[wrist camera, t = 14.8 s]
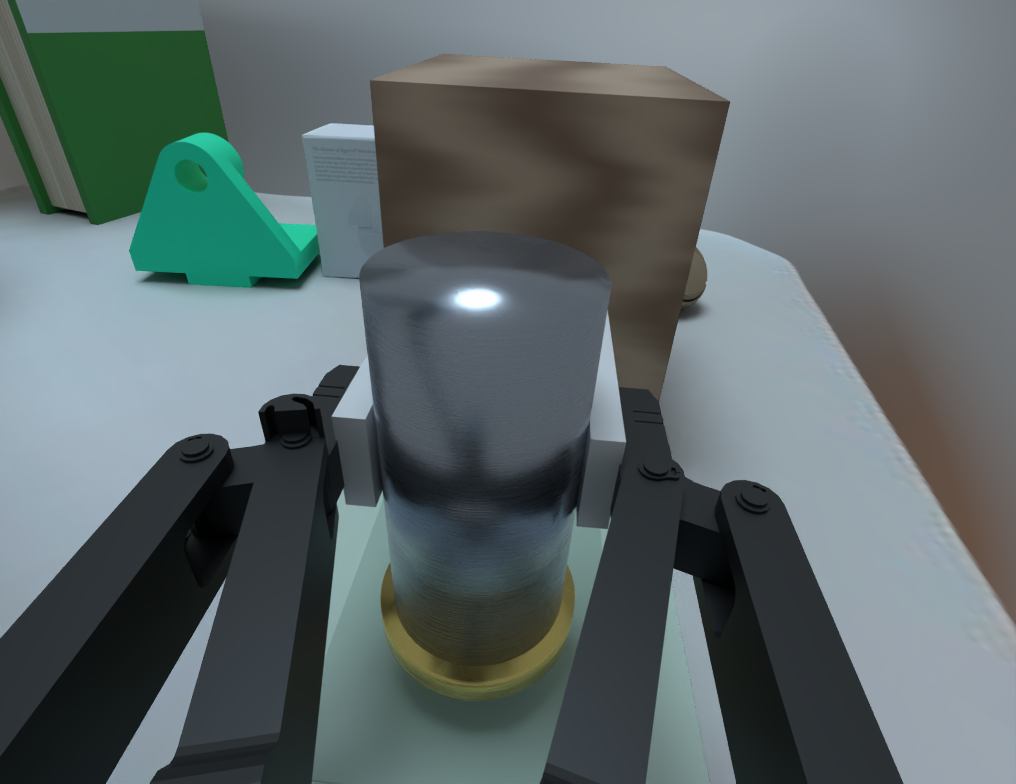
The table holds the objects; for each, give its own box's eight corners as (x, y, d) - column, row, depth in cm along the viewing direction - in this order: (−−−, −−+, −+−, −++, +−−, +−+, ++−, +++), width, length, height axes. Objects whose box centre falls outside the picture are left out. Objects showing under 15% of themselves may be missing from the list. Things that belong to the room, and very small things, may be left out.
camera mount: (328, 255, 49) (310, 126, 43) (299, 292, 43) (274, 146, 37) (190, 248, 49) (153, 118, 43) (140, 284, 43) (89, 137, 37)
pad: (180, 826, 15) (168, 809, 14) (347, 469, 26) (344, 452, 26) (717, 889, 14) (728, 874, 14) (648, 496, 26) (652, 479, 25)
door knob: (632, 316, 41) (644, 250, 39) (634, 289, 45) (645, 227, 43) (702, 325, 41) (719, 258, 38) (697, 297, 45) (713, 235, 42)
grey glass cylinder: (358, 688, 15) (287, 326, 9) (407, 527, 20) (383, 218, 14) (572, 712, 15) (649, 356, 9) (570, 542, 20) (619, 235, 14)
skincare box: (461, 256, 50) (461, 126, 44) (451, 285, 45) (449, 142, 39) (344, 248, 50) (328, 118, 44) (320, 277, 45) (298, 133, 39)
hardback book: (97, 224, 52) (-30, -123, 39) (41, 213, 54) (-99, -121, 41) (237, 182, 66) (179, -85, 53) (187, 174, 68) (119, -85, 55)
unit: (399, 446, 28) (369, 80, 19) (447, 319, 40) (442, 53, 31) (654, 468, 28) (747, 102, 19) (627, 333, 39) (676, 67, 30)
